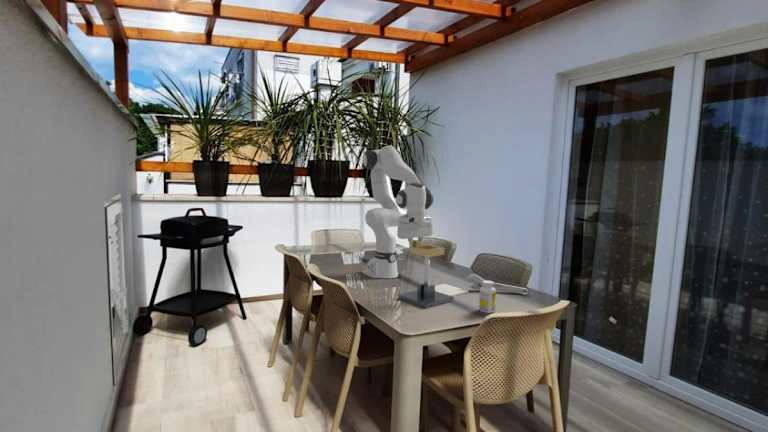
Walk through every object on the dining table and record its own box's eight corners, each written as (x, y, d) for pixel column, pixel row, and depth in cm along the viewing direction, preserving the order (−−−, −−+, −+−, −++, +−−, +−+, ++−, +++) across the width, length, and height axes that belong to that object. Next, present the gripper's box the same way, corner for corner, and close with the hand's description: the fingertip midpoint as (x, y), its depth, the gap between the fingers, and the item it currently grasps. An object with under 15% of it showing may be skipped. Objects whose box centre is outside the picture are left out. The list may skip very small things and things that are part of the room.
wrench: (526, 300, 206) (465, 289, 212) (526, 299, 208) (465, 288, 214) (529, 284, 205) (468, 273, 211) (529, 283, 207) (468, 272, 213)
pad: (422, 290, 210) (422, 288, 210) (444, 285, 221) (444, 283, 221) (446, 298, 198) (446, 296, 198) (468, 292, 208) (468, 290, 208)
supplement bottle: (492, 308, 184) (493, 279, 183) (496, 313, 177) (498, 283, 176) (477, 308, 184) (478, 279, 182) (481, 313, 177) (482, 283, 176)
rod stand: (398, 298, 196) (399, 256, 194) (425, 292, 207) (426, 252, 205) (426, 308, 182) (427, 263, 180) (453, 300, 194) (454, 258, 192)
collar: (402, 251, 197) (403, 240, 197) (419, 248, 204) (419, 238, 204) (427, 257, 185) (427, 246, 184) (444, 254, 192) (444, 243, 191)
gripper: (426, 215, 206) (425, 243, 208) (395, 218, 193) (394, 247, 195) (436, 217, 201) (435, 245, 203) (404, 219, 188) (403, 249, 190)
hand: (415, 246), depth 199 cm, fingers closed on collar, 3 cm apart
